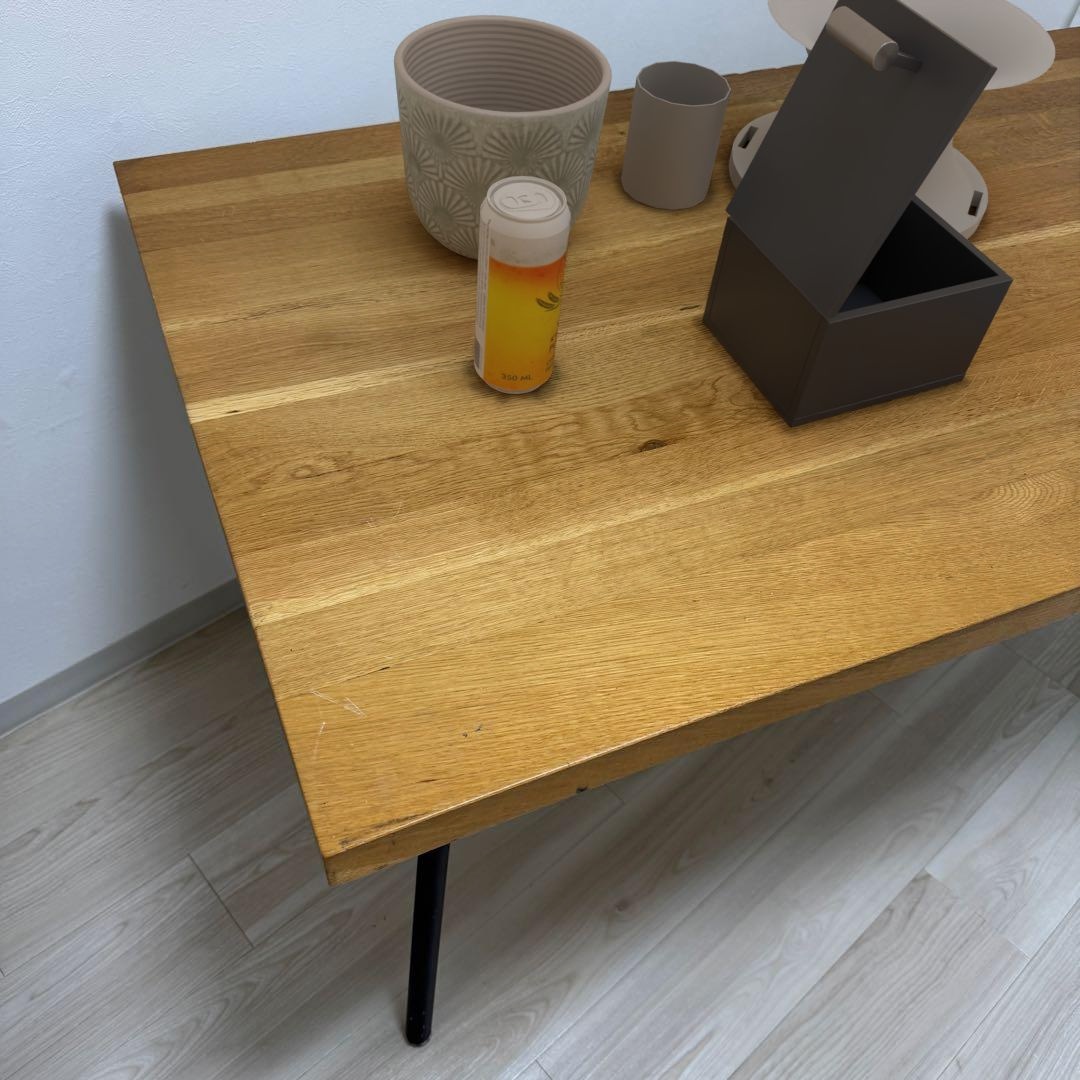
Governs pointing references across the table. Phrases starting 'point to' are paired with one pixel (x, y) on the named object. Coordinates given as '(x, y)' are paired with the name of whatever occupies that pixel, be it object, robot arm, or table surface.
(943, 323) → the open box
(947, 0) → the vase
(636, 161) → the cup
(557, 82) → the planter
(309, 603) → the table surface
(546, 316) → the beer can
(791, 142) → the box lid
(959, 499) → the table surface
